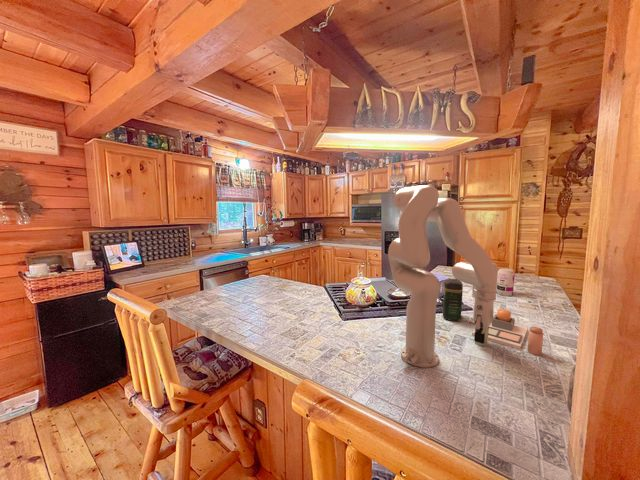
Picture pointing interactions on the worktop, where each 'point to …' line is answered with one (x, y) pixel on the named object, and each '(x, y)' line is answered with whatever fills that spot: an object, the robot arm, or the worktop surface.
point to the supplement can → (505, 282)
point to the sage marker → (485, 336)
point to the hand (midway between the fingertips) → (481, 338)
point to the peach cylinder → (535, 341)
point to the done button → (503, 315)
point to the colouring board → (506, 333)
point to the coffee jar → (452, 299)
